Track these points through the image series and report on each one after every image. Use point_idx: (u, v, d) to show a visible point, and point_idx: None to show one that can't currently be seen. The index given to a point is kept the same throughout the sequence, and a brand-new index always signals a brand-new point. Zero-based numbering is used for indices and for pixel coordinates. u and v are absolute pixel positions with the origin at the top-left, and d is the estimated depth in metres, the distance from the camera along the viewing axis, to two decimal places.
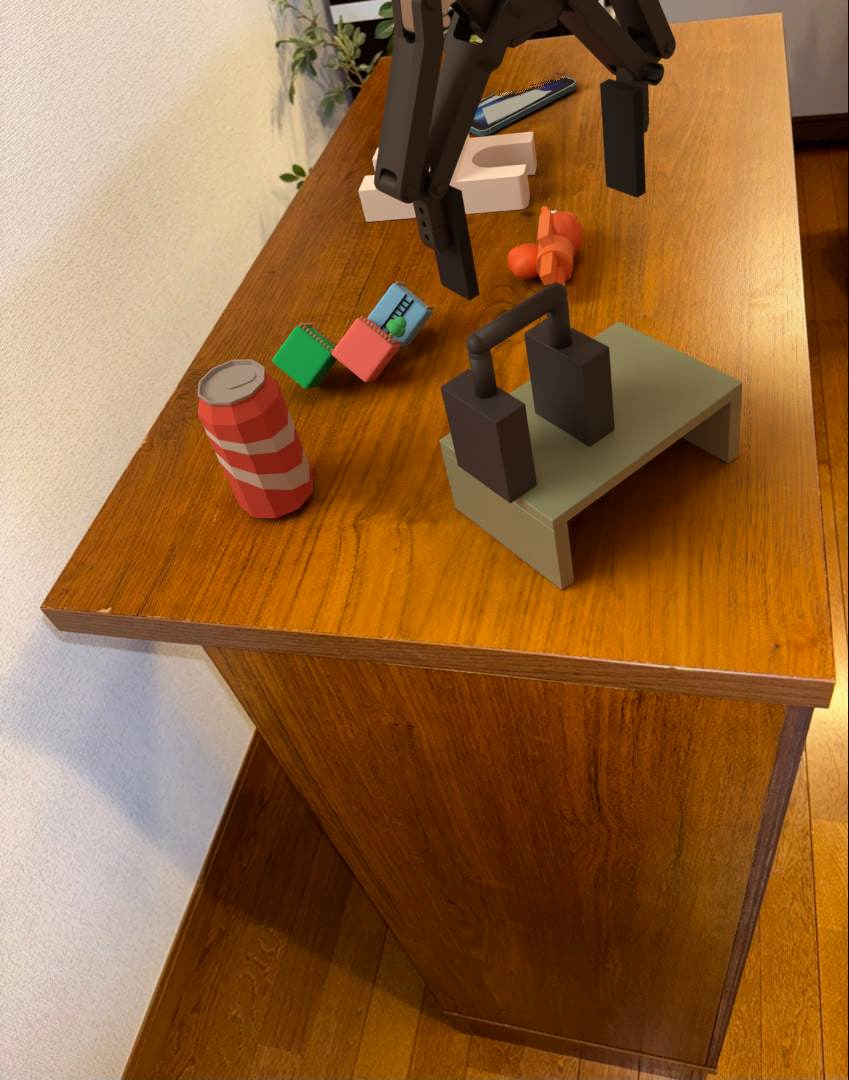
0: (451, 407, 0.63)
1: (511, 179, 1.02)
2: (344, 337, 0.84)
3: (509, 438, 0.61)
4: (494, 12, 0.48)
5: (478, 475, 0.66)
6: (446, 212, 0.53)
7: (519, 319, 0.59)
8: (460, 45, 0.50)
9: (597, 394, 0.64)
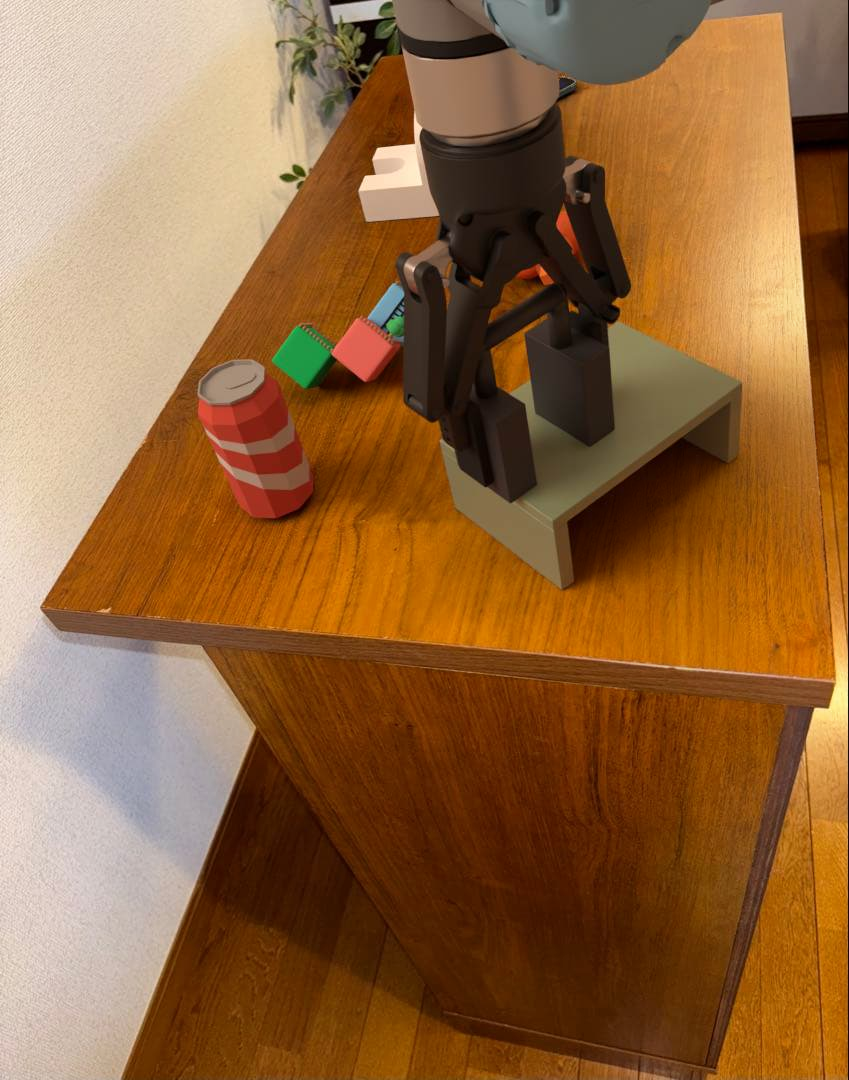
0: None
1: None
2: (344, 337, 0.84)
3: (509, 438, 0.61)
4: (487, 266, 0.55)
5: None
6: (466, 421, 0.61)
7: (519, 319, 0.59)
8: (462, 289, 0.57)
9: (597, 394, 0.64)
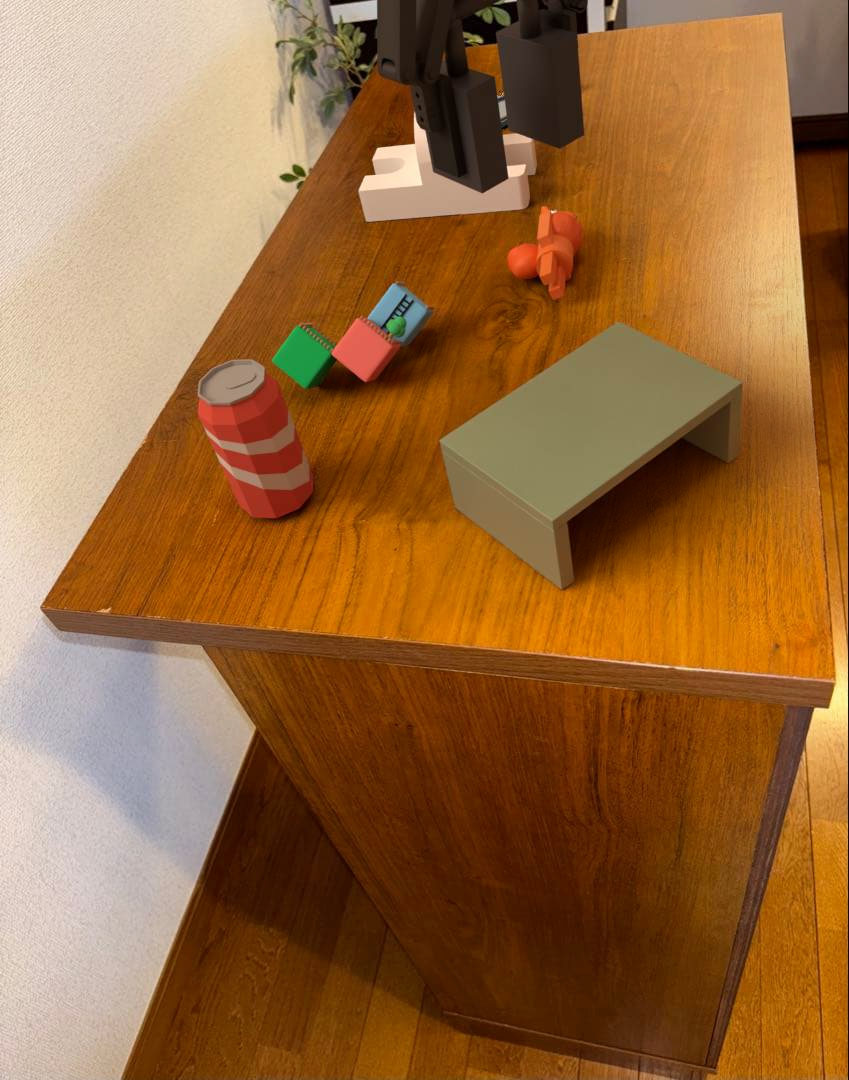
0: None
1: (511, 179, 1.02)
2: (344, 337, 0.84)
3: (479, 114, 0.63)
4: None
5: None
6: (438, 96, 0.63)
7: None
8: None
9: (566, 87, 0.67)
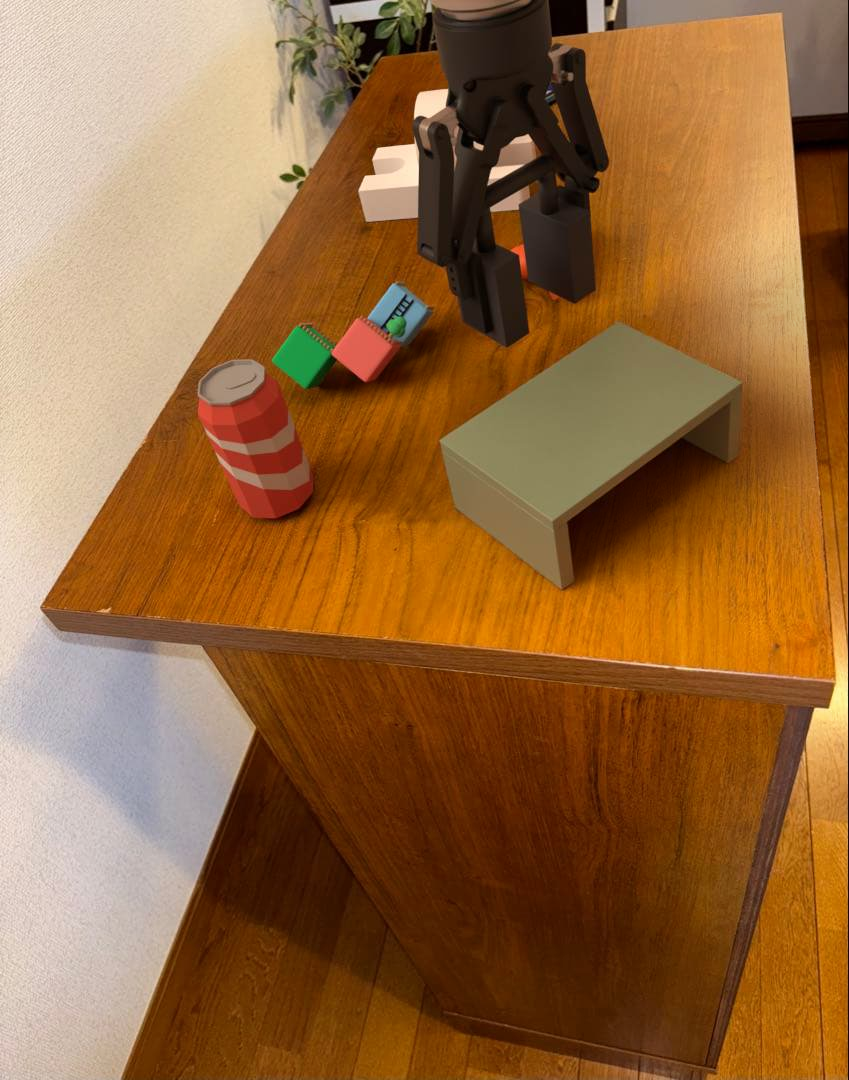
0: None
1: None
2: (344, 337, 0.84)
3: (505, 285, 0.73)
4: (487, 129, 0.66)
5: None
6: (469, 271, 0.72)
7: (514, 182, 0.71)
8: (466, 152, 0.68)
9: (580, 254, 0.76)
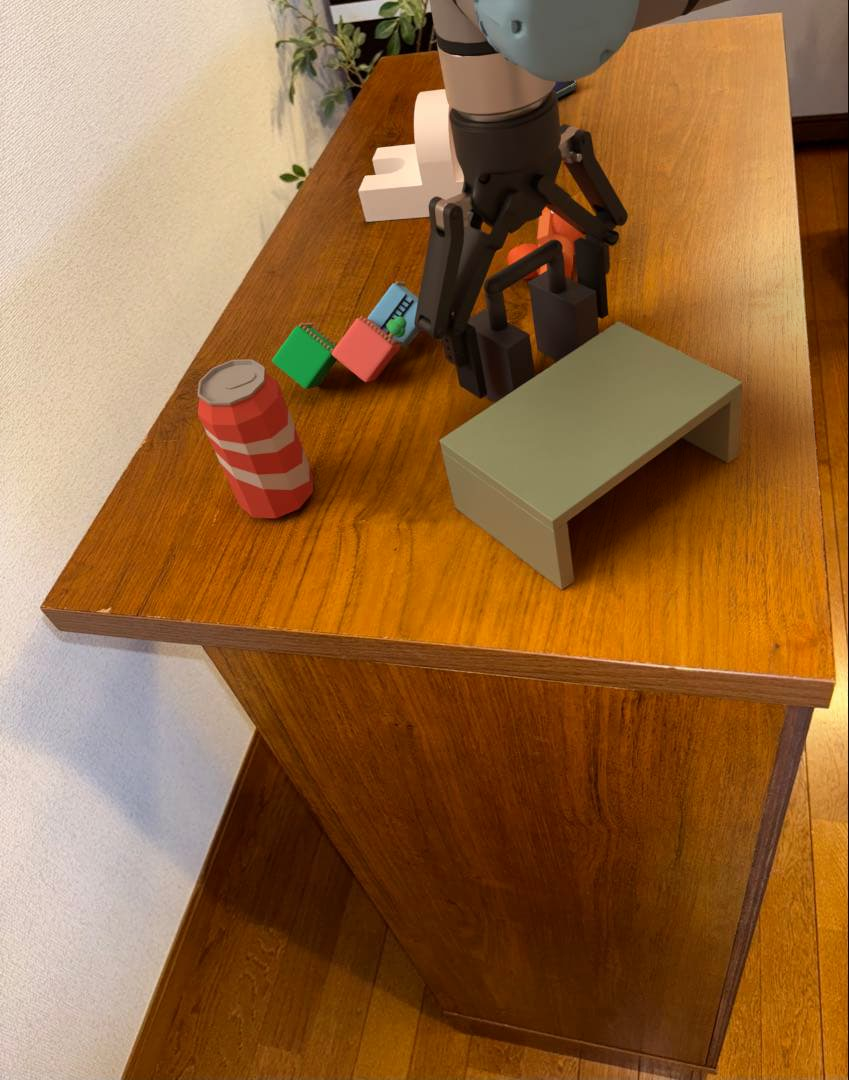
0: None
1: None
2: (344, 337, 0.84)
3: (517, 362, 0.78)
4: (498, 214, 0.71)
5: (492, 396, 0.83)
6: (464, 341, 0.76)
7: (525, 267, 0.76)
8: (474, 232, 0.72)
9: (586, 330, 0.81)
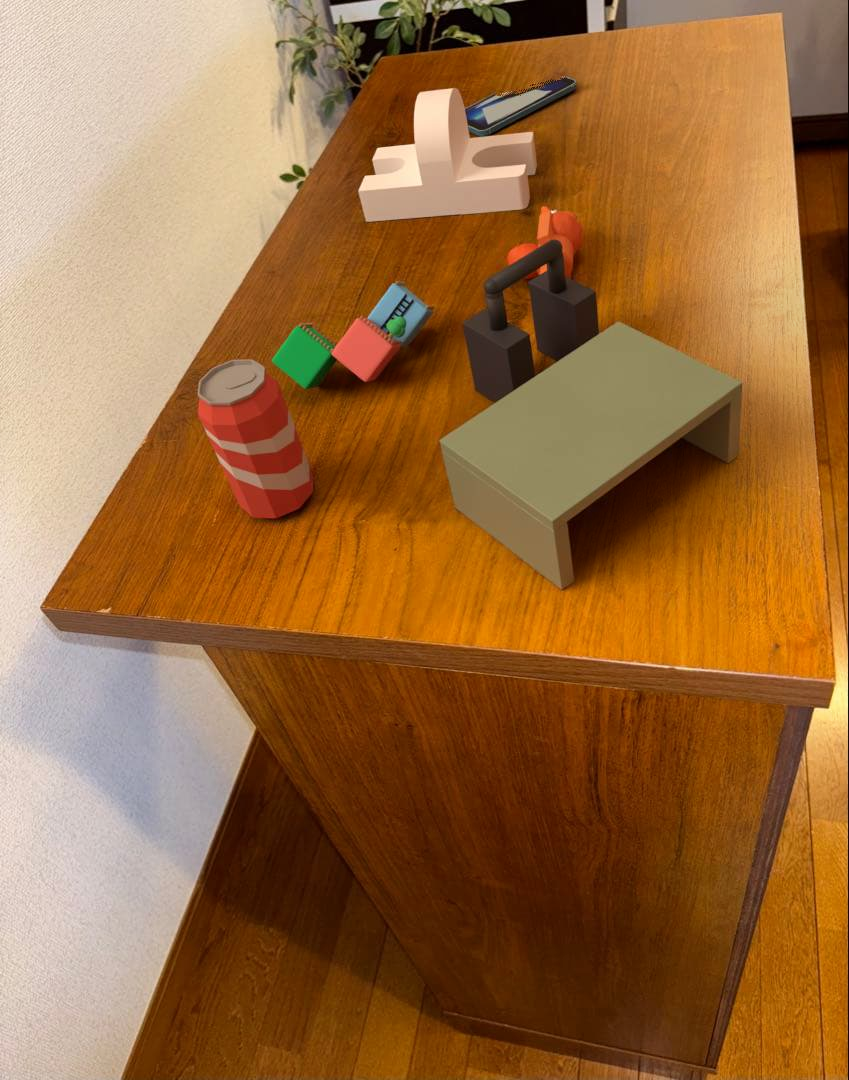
0: (471, 339, 0.80)
1: (511, 179, 1.02)
2: (344, 337, 0.84)
3: (517, 362, 0.78)
4: None
5: (492, 396, 0.83)
6: None
7: (525, 267, 0.76)
8: None
9: (586, 330, 0.81)
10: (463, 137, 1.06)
